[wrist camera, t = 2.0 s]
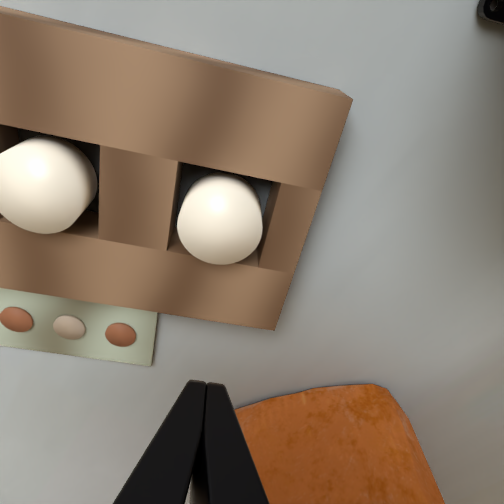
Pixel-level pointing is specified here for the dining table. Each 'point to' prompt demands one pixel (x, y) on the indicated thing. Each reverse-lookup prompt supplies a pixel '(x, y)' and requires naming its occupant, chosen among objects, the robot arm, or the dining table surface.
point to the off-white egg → (45, 184)
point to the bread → (337, 448)
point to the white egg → (220, 219)
